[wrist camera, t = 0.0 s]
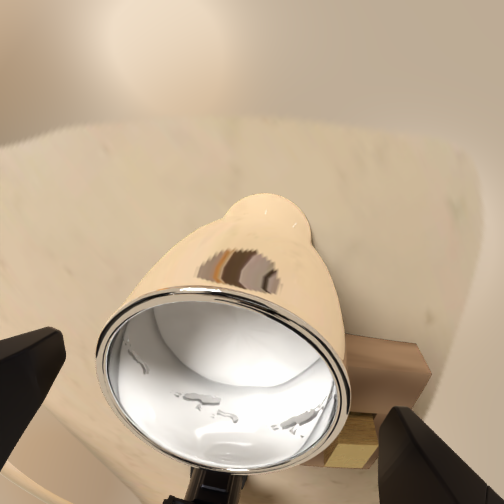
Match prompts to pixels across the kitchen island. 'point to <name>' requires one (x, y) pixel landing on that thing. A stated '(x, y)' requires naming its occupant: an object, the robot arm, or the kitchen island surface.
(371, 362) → the walnut block
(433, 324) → the kitchen island surface
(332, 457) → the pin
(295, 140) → the kitchen island surface
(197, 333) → the beer glass
